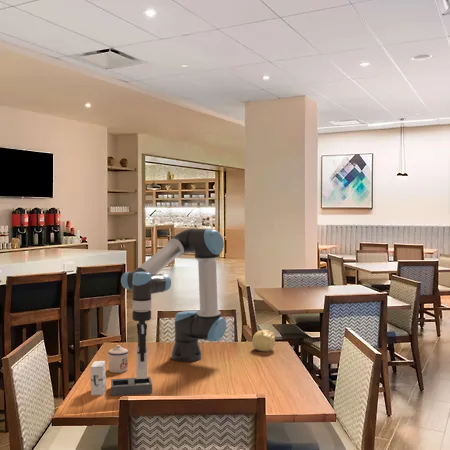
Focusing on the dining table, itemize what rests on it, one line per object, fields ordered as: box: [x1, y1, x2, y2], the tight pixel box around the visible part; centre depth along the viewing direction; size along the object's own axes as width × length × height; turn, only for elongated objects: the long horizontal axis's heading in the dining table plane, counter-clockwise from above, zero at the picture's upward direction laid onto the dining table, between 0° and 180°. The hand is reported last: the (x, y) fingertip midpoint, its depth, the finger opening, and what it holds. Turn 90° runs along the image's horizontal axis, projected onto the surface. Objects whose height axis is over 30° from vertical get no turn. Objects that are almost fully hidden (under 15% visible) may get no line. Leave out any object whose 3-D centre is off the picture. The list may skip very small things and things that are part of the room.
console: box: [110, 376, 153, 397], centre depth 214 cm, size 16×10×4 cm, turn 102°
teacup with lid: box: [107, 344, 129, 374], centre depth 244 cm, size 12×9×12 cm
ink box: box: [90, 360, 107, 396], centre depth 213 cm, size 9×5×12 cm, turn 5°
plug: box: [135, 346, 148, 379], centre depth 215 cm, size 4×4×14 cm
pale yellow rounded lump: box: [252, 329, 276, 352], centre depth 278 cm, size 12×12×11 cm
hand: (141, 367), depth 215 cm, fingers closed on plug, 4 cm apart
